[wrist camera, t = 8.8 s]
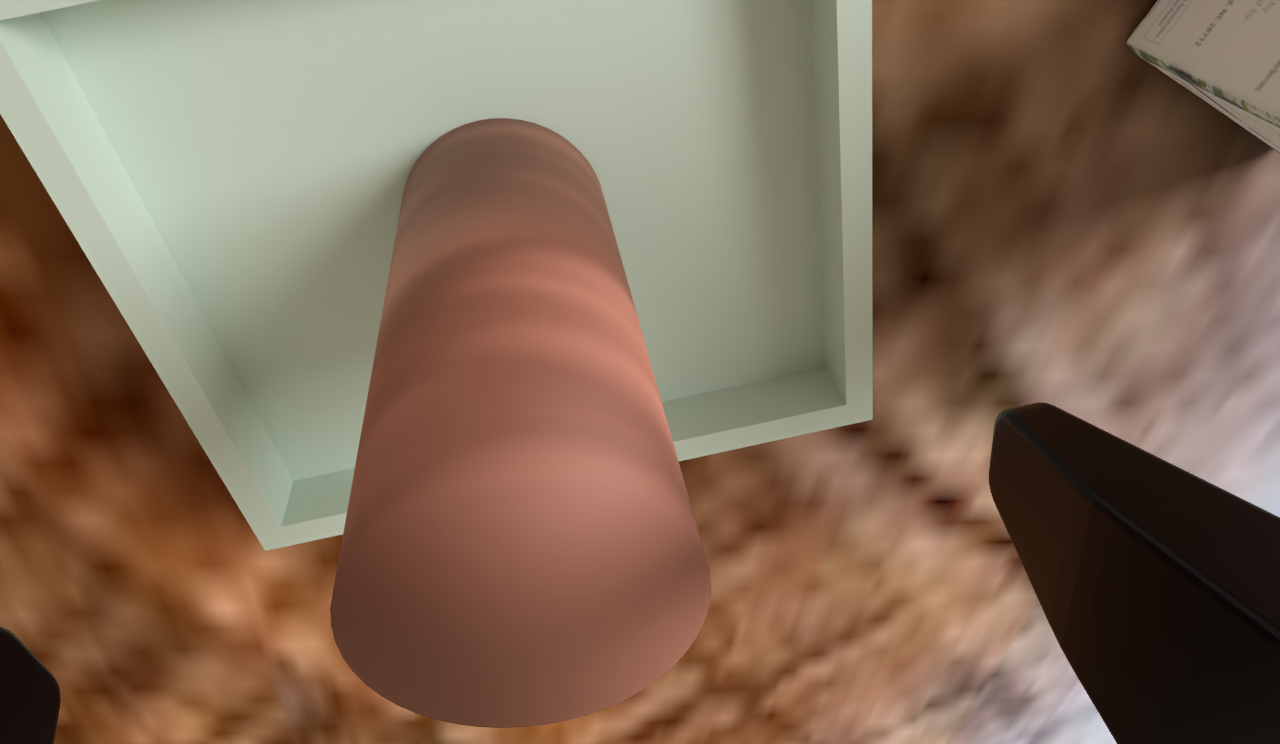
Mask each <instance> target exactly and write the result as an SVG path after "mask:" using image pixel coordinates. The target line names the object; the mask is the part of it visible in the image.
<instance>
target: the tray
mask: <svg viewBox="0 0 1280 744" xmlns="http://www.w3.org/2000/svg"><path fill="white" fill-rule="evenodd" d="M0 114H1V116H2V118H3V119H4V121H5V123H6V124H7V126H8V128H9V129H10V131H11V132H12V134H13V136H14V137H15V139H16V141H17V142H18V144H19V146H20V147H21V149H22V151H23V152H24V154H25V156H26V157H27V159H28V161H29V162H30V164H31V165H32V167H33V169H34V170H35V172H36V174H37V175H38V177H39V179H40V180H41V182H42V184H43V185H44V187H45V189H46V190H47V192H48V194H49V195H50V197H51V198H52V200H53V202H54V203H55V205H56V207H57V208H58V210H59V212H60V213H61V215H62V217H63V218H64V220H65V222H66V223H67V225H68V227H69V228H70V230H71V231H72V233H73V235H74V236H75V238H76V240H77V241H78V243H79V245H80V246H81V248H82V250H83V251H84V253H85V255H86V256H87V258H88V260H89V261H90V263H91V264H92V266H93V268H94V269H95V271H96V273H97V274H98V276H99V278H100V279H101V281H102V283H103V284H104V286H105V288H106V289H107V291H108V293H109V294H110V296H111V297H112V299H113V301H114V302H115V304H116V306H117V307H118V309H119V311H120V312H121V314H122V316H123V317H124V319H125V321H126V322H127V324H128V326H129V327H130V329H131V330H132V332H133V334H134V335H135V337H136V339H137V340H138V342H139V344H140V345H141V347H142V349H143V350H144V352H145V354H146V355H147V357H148V359H149V360H150V362H151V363H152V365H153V367H154V368H155V370H156V372H157V373H158V375H159V377H160V378H161V380H162V382H163V383H164V385H165V387H166V388H167V390H168V392H169V393H170V395H171V396H172V398H173V400H174V401H175V403H176V405H177V406H178V408H179V410H180V411H181V413H182V415H183V416H184V418H185V420H186V421H187V423H188V425H189V426H190V428H191V429H192V431H193V433H194V434H195V436H196V438H197V439H198V441H199V443H200V444H201V446H202V448H203V449H204V451H205V453H206V454H207V456H208V458H209V459H210V461H211V462H212V464H213V466H214V467H215V469H216V471H217V472H218V474H219V476H220V477H221V479H222V481H223V482H224V484H225V486H226V487H227V489H228V491H229V492H230V494H231V495H232V497H233V499H234V500H235V502H236V504H237V505H238V507H239V509H240V510H241V512H242V514H243V515H244V517H245V519H246V520H247V522H248V524H249V525H250V527H251V528H252V530H253V532H254V533H255V535H256V537H257V538H258V540H259V542H260V543H261V545H262V547H263V548H264V550H265V551H267V550H272V549H277V548H281V547H286V546H291V545H295V544H300V543H304V542H309V541H314V540H318V539H323V538H328V537H332V536H337V535H341V534H343V532H344V527H345V521H346V515H347V510H348V504H349V498H350V493H351V487H352V481H353V476H354V470H355V464H356V458H357V453H358V447H359V441H360V436H361V430H362V424H363V419H364V413H365V407H366V402H367V396H368V390H369V384H370V379H371V373H372V367H373V362H374V356H375V350H376V345H377V339H378V333H379V328H380V322H381V316H382V310H383V305H384V299H385V293H386V288H387V282H388V276H389V271H390V265H391V259H392V254H393V248H394V242H395V236H396V231H397V225H398V219H399V214H400V208H401V202H402V197H403V191H404V187H405V184H406V181H407V178H408V176H409V174H410V172H411V170H412V168H413V166H414V164H415V163H416V161H417V160H418V158H419V157H420V155H421V154H422V153H423V152H424V151H425V150H426V149H427V148H428V147H429V146H430V145H431V144H432V143H433V142H435V141H436V140H437V139H438V138H439V137H441V136H443V135H444V134H446V133H448V132H449V131H451V130H453V129H455V128H457V127H460V126H462V125H464V124H468V123H471V122H475V121H478V120H485V119H492V118H510V119H519V120H524V121H528V122H532V123H536V124H538V125H541V126H543V127H546V128H548V129H550V130H552V131H554V132H556V133H558V134H559V135H561V136H562V137H564V138H565V139H566V140H568V141H569V142H571V143H572V144H573V145H574V146H575V147H576V148H577V149H578V150H579V151H580V152H581V153H582V154H583V156H584V157H585V158H586V159H587V160H588V162H589V163H590V165H591V167H592V168H593V170H594V171H595V173H596V176H597V178H598V180H599V183H600V185H601V189H602V192H603V196H604V199H605V203H606V207H607V210H608V214H609V217H610V221H611V224H612V228H613V231H614V235H615V238H616V242H617V245H618V249H619V253H620V256H621V260H622V263H623V267H624V270H625V274H626V277H627V281H628V284H629V288H630V291H631V295H632V299H633V302H634V306H635V309H636V313H637V316H638V320H639V323H640V327H641V330H642V334H643V338H644V341H645V345H646V348H647V352H648V355H649V359H650V362H651V366H652V369H653V373H654V376H655V380H656V384H657V387H658V391H659V394H660V398H661V401H662V405H663V408H664V412H665V415H666V419H667V423H668V426H669V430H670V433H671V437H672V440H673V444H674V447H675V451H676V454H677V458H678V461H683V460H688V459H693V458H697V457H702V456H706V455H711V454H716V453H720V452H725V451H730V450H734V449H739V448H743V447H748V446H753V445H757V444H762V443H767V442H771V441H776V440H780V439H785V438H790V437H794V436H799V435H804V434H808V433H813V432H817V431H822V430H827V429H831V428H836V427H840V426H845V425H850V424H854V423H859V422H864V421H868V420H873V312H872V0H0Z"/></svg>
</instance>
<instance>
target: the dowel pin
mask: <svg viewBox="0 0 1280 744" xmlns="http://www.w3.org/2000/svg"><path fill="white" fill-rule="evenodd" d="M710 595H711V580H710V572H709V568H708V564H707V561H706V557H705V554H704V550H703V546H702V543H701V539H700V536H699V532H698V529H697V525H696V522H695V518H694V515H693V511H692V508H691V504H690V500H689V497H688V493H687V490H686V486H685V483H684V479H683V476H682V472H681V469H680V465H679V461H678V458H677V454H676V451H675V447H674V444H673V440H672V437H671V433H670V430H669V426H668V423H667V419H666V415H665V412H664V408H663V405H662V401H661V398H660V394H659V391H658V387H657V384H656V380H655V376H654V373H653V369H652V366H651V362H650V359H649V355H648V352H647V348H646V345H645V341H644V338H643V334H642V330H641V327H640V323H639V320H638V316H637V313H636V309H635V306H634V302H633V299H632V295H631V291H630V288H629V284H628V281H627V277H626V274H625V270H624V267H623V263H622V260H621V256H620V253H619V249H618V245H617V242H616V238H615V235H614V231H613V228H612V224H611V221H610V217H609V214H608V210H607V207H606V203H605V199H604V196H603V192H602V189H601V185H600V183H599V180H598V178H597V176H596V173H595V171H594V170H593V168H592V167H591V165H590V163H589V162H588V160H587V159H586V158H585V157H584V156H583V154H582V153H581V152H580V151H579V150H578V149H577V148H576V147H575V146H574V145H573V144H572V143H571V142H569V141H568V140H566V139H565V138H564V137H562V136H561V135H559V134H558V133H556V132H554V131H552V130H550V129H548V128H546V127H543V126H541V125H538V124H536V123H532V122H528V121H524V120H519V119H510V118H492V119H485V120H478V121H475V122H471V123H468V124H464V125H462V126H460V127H457V128H455V129H453V130H451V131H449V132H448V133H446V134H444V135H443V136H441V137H439V138H438V139H437V140H436V141H435V142H433V143H432V144H431V145H430V146H429V147H428V148H427V149H426V150H425V151H424V152H423V153H422V154H421V155H420V157H419V158H418V160H417V161H416V163H415V164H414V166H413V168H412V170H411V172H410V174H409V176H408V178H407V181H406V184H405V187H404V191H403V197H402V202H401V208H400V214H399V219H398V225H397V231H396V236H395V242H394V248H393V254H392V259H391V265H390V271H389V276H388V282H387V288H386V293H385V299H384V305H383V310H382V316H381V322H380V328H379V333H378V339H377V345H376V350H375V356H374V362H373V367H372V373H371V379H370V384H369V390H368V396H367V402H366V407H365V413H364V419H363V424H362V430H361V436H360V441H359V447H358V453H357V458H356V464H355V470H354V476H353V481H352V487H351V493H350V498H349V504H348V510H347V515H346V521H345V527H344V532H343V538H342V544H341V550H340V555H339V561H338V567H337V572H336V578H335V584H334V589H333V596H332V602H331V608H330V609H331V626H332V630H333V634H334V638H335V642H336V644H337V646H338V648H339V650H340V652H341V655H342V657H343V658H344V660H345V661H346V662H347V664H348V665H349V667H350V668H351V669H352V671H353V672H354V673H355V674H356V675H357V676H358V677H359V678H360V679H361V680H362V681H363V682H364V683H365V684H366V685H367V686H369V687H370V688H371V689H373V690H374V691H375V692H377V693H378V694H379V695H381V696H382V697H384V698H386V699H387V700H389V701H391V702H393V703H395V704H396V705H398V706H400V707H403V708H405V709H407V710H410V711H412V712H414V713H417V714H420V715H423V716H426V717H429V718H433V719H436V720H440V721H445V722H450V723H454V724H460V725H468V726H476V727H494V728H510V727H528V726H537V725H545V724H550V723H556V722H561V721H566V720H570V719H574V718H577V717H581V716H585V715H588V714H591V713H594V712H596V711H599V710H602V709H605V708H607V707H610V706H612V705H614V704H616V703H618V702H621V701H623V700H625V699H627V698H629V697H631V696H632V695H634V694H636V693H638V692H639V691H641V690H643V689H645V688H646V687H647V686H649V685H650V684H652V683H653V682H654V681H656V680H657V679H659V678H660V677H661V676H662V675H664V674H665V673H666V672H667V671H668V670H669V669H670V668H672V667H673V666H674V665H675V664H676V663H677V662H678V661H679V659H680V658H681V657H682V656H683V655H684V654H685V653H686V652H687V650H688V649H689V648H690V646H691V645H692V643H693V642H694V640H695V639H696V637H697V636H698V634H699V632H700V630H701V628H702V625H703V623H704V621H705V618H706V615H707V612H708V608H709V604H710Z"/></svg>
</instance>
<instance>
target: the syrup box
mask: <svg viewBox="0 0 1280 744" xmlns="http://www.w3.org/2000/svg"><path fill="white" fill-rule="evenodd" d="M1127 46H1128V48H1129V49H1130V50H1131V51H1132V52H1134V53H1135V54H1136V55H1138V56H1139V57H1141V58H1142V59H1143V60H1145V61H1146V62H1147V63H1149V64H1150V65H1152V66H1153V67H1155V68H1157V69H1158V70H1160V71H1161V72H1163V73H1164V74H1166V75H1167V76H1169V77H1170V78H1172V79H1173V80H1175V81H1176V82H1178V83H1179V84H1181V85H1182V86H1184V87H1185V88H1187V89H1188V90H1189V91H1191V92H1192V93H1194V94H1195V95H1197V96H1198V97H1200V98H1201V99H1203V100H1204V101H1206V102H1207V103H1209V104H1210V105H1212V106H1213V107H1214V108H1216V109H1217V110H1219V111H1220V112H1222V113H1223V114H1225V115H1226V116H1227V117H1229V118H1230V119H1232V120H1233V121H1235V122H1236V123H1237V124H1239V125H1240V126H1242V127H1243V128H1245V129H1246V130H1247V131H1249V132H1250V133H1252V134H1253V135H1255V136H1256V137H1258V138H1259V139H1261V140H1262V141H1263V142H1265V143H1266V144H1268V145H1269V146H1270V147H1272V148H1273V149H1274V150H1276V151H1277V152H1279V153H1280V0H1157V2H1156V3H1155V4H1154V6H1153V7H1152V9H1151V10H1150V11H1149V12H1148V14H1147V15H1146V16H1145V18H1144V19H1143V20H1142V21H1141V23H1140V24H1139V25H1138V27H1137V28H1136V29H1135V31H1134V32H1133V33H1132V34H1131V36H1130V37H1129V38H1128V41H1127Z"/></svg>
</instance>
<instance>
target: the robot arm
mask: <svg viewBox="0 0 1280 744" xmlns="http://www.w3.org/2000/svg"><path fill="white" fill-rule="evenodd" d="M989 485H990V490H991V494H992V497H993V500H994V502H995V505H996V507H997V509H998V511H999V514H1000V516H1001V518H1002V520H1003V522H1004V525H1005V527H1006V529H1007V531H1008V534H1009V536H1010V538H1011V540H1012V542H1013V545H1014V547H1015V549H1016V551H1017V553H1018V556H1019V558H1020V560H1021V562H1022V564H1023V567H1024V569H1025V571H1026V573H1027V576H1028V578H1029V580H1030V582H1031V584H1032V587H1033V589H1034V591H1035V593H1036V595H1037V598H1038V600H1039V602H1040V604H1041V606H1042V609H1043V611H1044V613H1045V615H1046V617H1047V620H1048V622H1049V624H1050V626H1051V628H1052V630H1053V632H1054V634H1055V636H1056V639H1057V641H1058V643H1059V645H1060V647H1061V649H1062V650H1063V652H1064V654H1065V656H1066V658H1067V659H1068V661H1069V663H1070V665H1071V667H1072V668H1073V670H1074V672H1075V674H1076V675H1077V677H1078V679H1079V680H1080V682H1081V684H1082V685H1083V687H1084V689H1085V690H1086V692H1087V694H1088V695H1089V697H1090V699H1091V700H1092V702H1093V704H1094V706H1095V707H1096V709H1097V711H1098V712H1099V714H1100V716H1101V717H1102V719H1103V721H1104V722H1105V724H1106V726H1107V727H1108V729H1109V731H1110V732H1111V734H1112V736H1113V737H1114V739H1115V741H1116V743H1117V744H1280V517H1278V516H1276V515H1274V514H1272V513H1269V512H1267V511H1265V510H1263V509H1261V508H1259V507H1257V506H1255V505H1253V504H1251V503H1249V502H1247V501H1245V500H1243V499H1241V498H1239V497H1237V496H1235V495H1233V494H1231V493H1229V492H1227V491H1225V490H1223V489H1221V488H1219V487H1217V486H1215V485H1213V484H1211V483H1209V482H1207V481H1205V480H1203V479H1201V478H1199V477H1197V476H1195V475H1193V474H1191V473H1189V472H1187V471H1185V470H1183V469H1181V468H1179V467H1177V466H1175V465H1173V464H1171V463H1169V462H1167V461H1165V460H1162V459H1160V458H1158V457H1156V456H1154V455H1152V454H1150V453H1148V452H1146V451H1144V450H1142V449H1140V448H1138V447H1136V446H1134V445H1132V444H1130V443H1128V442H1126V441H1124V440H1122V439H1120V438H1118V437H1116V436H1114V435H1112V434H1110V433H1108V432H1106V431H1104V430H1102V429H1100V428H1098V427H1096V426H1094V425H1092V424H1090V423H1088V422H1086V421H1084V420H1082V419H1080V418H1078V417H1076V416H1074V415H1072V414H1070V413H1068V412H1066V411H1064V410H1062V409H1060V408H1058V407H1055V406H1053V405H1051V404H1048V403H1034V404H1029V405H1024V406H1020V407H1015V408H1010V409H1006V410H1004V411H1002V412H1000V414H999V415H998V416H997V418H996V421H995V425H994V434H993V443H992V451H991V460H990V469H989ZM60 701H61V700H60V690H59V685H58V683H57V681H56V679H55V677H54V676H53V674H52V673H51V672H50V671H49V670H48V669H47V668H46V667H45V666H44V665H43V664H42V663H41V662H40V661H39V660H38V659H37V658H36V657H35V655H34V654H33V653H32V652H31V651H30V650H29V649H28V648H27V647H26V646H25V645H24V644H23V643H22V642H21V641H20V640H19V639H18V638H17V637H16V636H15V635H14V634H13V633H12V632H11V631H9V630H7V629H4V628H1V627H0V744H54V738H55V733H56V727H57V721H58V715H59V710H60Z"/></svg>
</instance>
